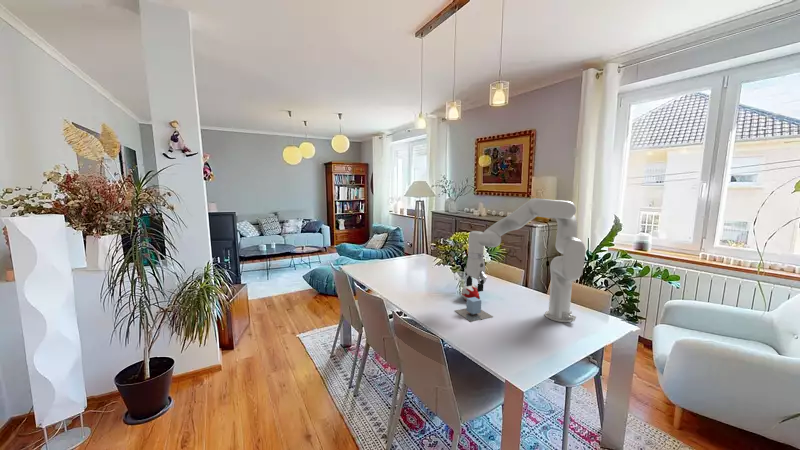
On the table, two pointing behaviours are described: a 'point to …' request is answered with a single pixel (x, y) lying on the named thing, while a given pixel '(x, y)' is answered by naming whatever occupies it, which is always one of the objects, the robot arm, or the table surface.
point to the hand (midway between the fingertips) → (474, 288)
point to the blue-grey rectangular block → (473, 305)
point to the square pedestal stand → (473, 315)
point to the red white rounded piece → (470, 292)
